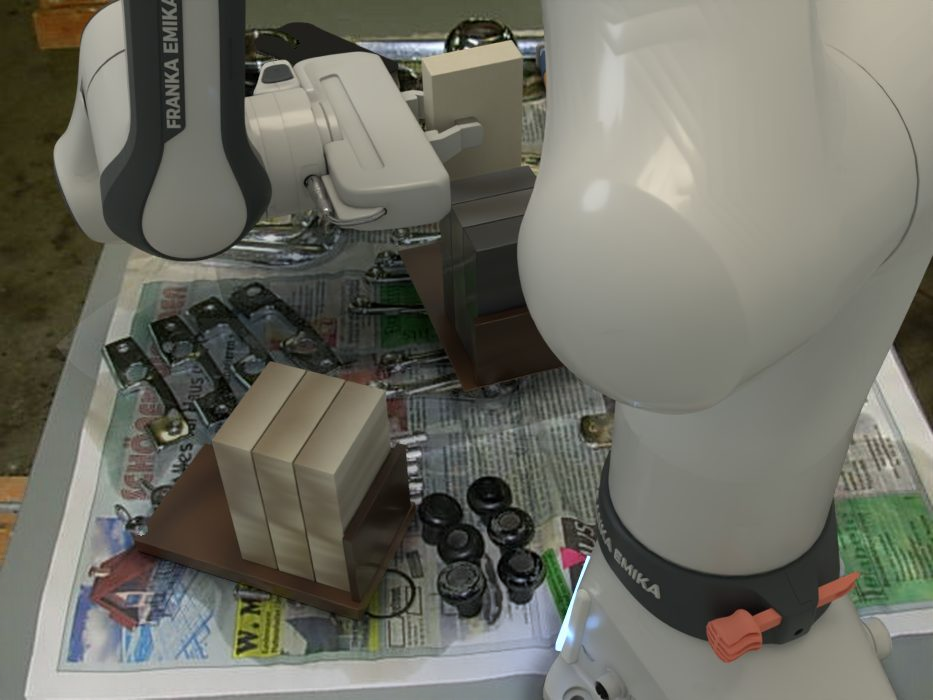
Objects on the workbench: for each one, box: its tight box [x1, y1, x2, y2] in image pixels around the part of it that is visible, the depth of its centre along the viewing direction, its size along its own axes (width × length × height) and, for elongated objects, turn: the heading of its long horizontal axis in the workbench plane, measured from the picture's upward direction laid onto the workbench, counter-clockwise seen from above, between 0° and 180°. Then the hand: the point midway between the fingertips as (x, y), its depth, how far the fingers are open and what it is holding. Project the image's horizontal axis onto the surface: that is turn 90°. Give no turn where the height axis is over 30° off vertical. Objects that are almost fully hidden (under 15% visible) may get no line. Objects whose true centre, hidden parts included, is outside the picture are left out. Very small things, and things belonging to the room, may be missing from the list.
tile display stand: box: [133, 360, 417, 622], centre depth 69 cm, size 16×9×12 cm, turn 69°
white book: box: [420, 39, 524, 181], centre depth 84 cm, size 2×7×11 cm, turn 108°
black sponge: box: [252, 21, 401, 90], centre depth 116 cm, size 16×8×4 cm, turn 48°
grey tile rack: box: [397, 164, 567, 393], centre depth 85 cm, size 18×10×13 cm, turn 18°
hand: (472, 117), depth 84 cm, fingers closed on white book, 2 cm apart
